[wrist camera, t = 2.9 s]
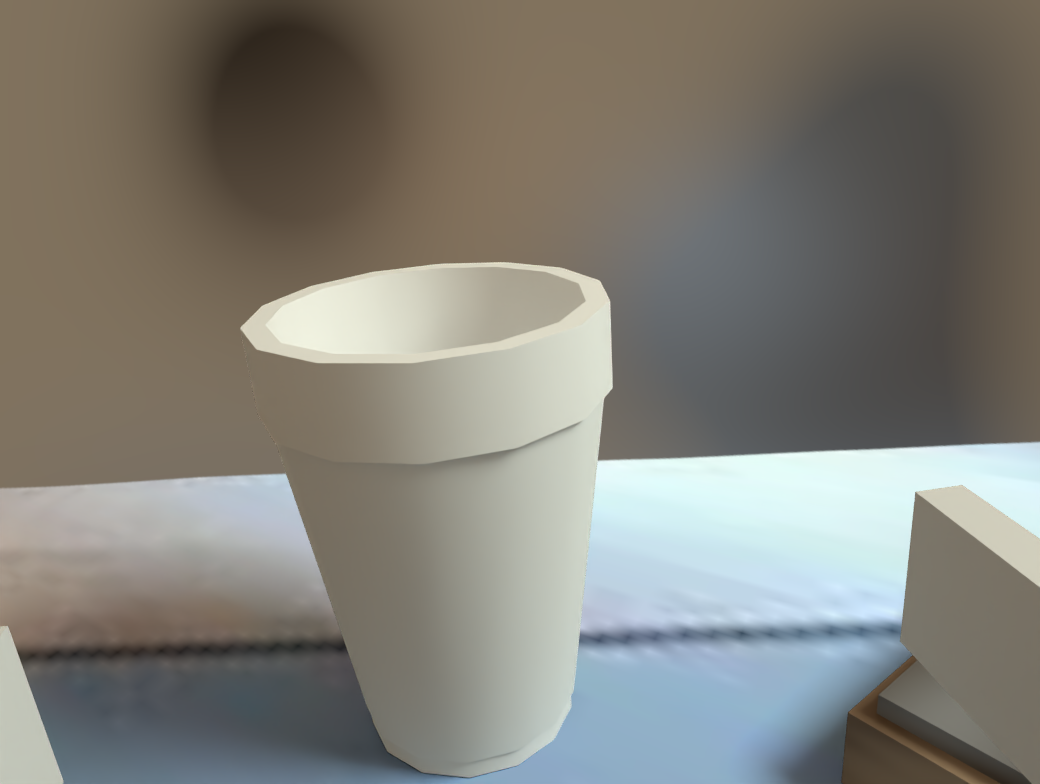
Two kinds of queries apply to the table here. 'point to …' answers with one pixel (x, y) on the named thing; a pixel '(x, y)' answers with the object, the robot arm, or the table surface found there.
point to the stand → (919, 737)
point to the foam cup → (446, 489)
